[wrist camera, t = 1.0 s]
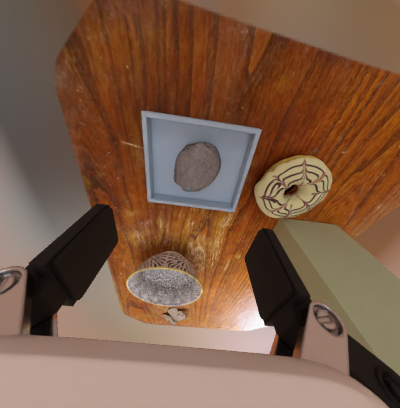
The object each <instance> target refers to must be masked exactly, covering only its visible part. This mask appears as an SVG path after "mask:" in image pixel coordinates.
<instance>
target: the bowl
mask: <svg viewBox="0 0 400 408" xmlns="http://www.w3.org/2000/svg"><path fill="white" fill-rule="evenodd" d="M126 285H127V288H128V290H129V291H130V292H131V293H132V294H133V295H134V296H136V297H137V298H139V299H141V300H143V301H145V302H148V303H151V304H155V305H161V306H182V305H187V304H190V303H192V302H195V301H196V300H198V299H199V298H200V296H201V295H202V291H203V289H202V285H201V283H200V281H199V278H198V275H197V272H196V270H195V268H194V266H193V265H192V264H191V262H190V261H189V260H188V259H186V258H185V257H183V255H181V254H180V253H178V252H174V251H165V252H162V253H160V254H156V255H154V256H152V257H150V258H148V259H147V260H146V261H144V262H143V263H142V264H141V265H140V266H139V268H138V269H137V270H136V271H135V272H134V273H133V274H131V275H130V276H129V277H128V279H127V282H126Z"/></svg>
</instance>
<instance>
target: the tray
mask: <svg viewBox="0 0 400 408" xmlns="http://www.w3.org/2000/svg"><path fill="white" fill-rule="evenodd" d="M141 115H142V129H143V142H144V155H145V169H146V182H147V195H148V202H156V203H164V204H172V205H180V206H188V207H196V208H204V209H212V210H220V211H228V212H235V210H236V207H237V203H238V200H239V197H240V194H241V191H242V188H243V185H244V182H245V179H246V176H247V173H248V170H249V167H250V164H251V161H252V158H253V155H254V152H255V149H256V146H257V143H258V140H259V137H260V134H261V131H262V130H261V129H258V128H254V127H248V126H242V125H235V124H229V123H222V122H216V121H210V120H203V119H197V118H191V117H184V116H178V115H171V114H165V113H159V112H152V111H141ZM197 142H206V143H210V144H212V145H214V146H215V147H216V148H217V150H218V151H219V154H220V158H221V167H220V171H219V173H218V175H217V177H216V178H215V180H214V181H213V182H212V183H211V184H210V185H208V186H207V187H205V188H203V189H202V190H200V191H196V192H187V191H184V190H183V189H182V188H181V186H179V185H178V184H176V183H175V182H174V169H175V162H176V158H177V156H178V154H179V153H180V152H181V151H182V150H183V148H184V147H185V146H186V145H188V144H193V143H197Z"/></svg>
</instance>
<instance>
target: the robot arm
mask: <svg viewBox="0 0 400 408" xmlns="http://www.w3.org/2000/svg"><path fill="white" fill-rule="evenodd" d="M117 243H118V235H117V230H116V225H115V220H114V215H113V210H112V208H110V206H109V205H104V204H96V205H95V206H94V207H92V208H91V209H90V210H89V211H88V212H87V213H86V214H84V215H83V216H82V217H81V218H80V219H79V220H78V221H76V222H75V223H74V224H73V225H72V226H71V227H70V228H68V229H67V230H66V231H65V232H64V233H63V234H62V235H60V237H58V238H57V239H56V240H55V241H53V242H52V243H51V244H50V245H49V246H48V247H47V248H45V249H44V250H43V251H42V252H41V253H40V254H39V255H37V256H36V257H35V258H34V259H33V260H32V261H31V262H29V265H28V266H27V267H26V268H24V267H20V266H11V267H7V268H3V269H0V408H400V376H399V375H398V374H397V373H396V372H395V371H394V370H393V369H391V368H390V367H389V366H387V365H386V364H385V363H384V362H382V361H381V360H380V359H379V358H377V357H376V356H375V355H374V354H372V353H371V352H370V351H369V350H367V349H366V348H365V347H364V346H362V345H361V344H360V343H359V342H357V341H356V340H355V339H354V338H352V337H351V336H350V335H349V334H348V333H347V329H346V326H345V324H344V322H343V321H342V319H341V318H340V316H339V315H338V314H337V313H336V312H335V311H334V310H333V309H332V308H331V307H329V306H328V305H326V304H325V303H323V302H320V301H312V300H311V299H310V297H311V296H310V294H309V292H308V290H307V289H306V287H305V285H304V283H303V282H302V280H301V278H300V276H299V275H298V273H297V271H296V269H295V268H294V266H293V264H292V262H291V261H290V259H289V257H288V255H287V254H286V252H285V250H284V248H283V247H282V245H281V243H280V241H279V240H278V238H277V236H276V234H275V233H274V231H273V230H271V229H264V228H263V229H262V230H259V231H258V233H257V235H256V237H255V239H254V241H253V243H252V244H251V246H250V248H249V250H248V252H247V254H246V256H245V262H246V266H247V270H248V273H249V277H250V281H251V285H252V288H253V292H254V296H255V299H256V303H257V307H258V311H259V314H260V317H261V318H262V319H263V320H264V324H265V326H274V327H275V330H276V335H275V339H274V342H273V345H272V348H271V351H270V355H268V354H259V353H248V352H237V351H226V350H215V349H204V348H192V347H180V346H169V345H156V344H145V343H132V342H120V341H108V340H96V339H83V338H71V337H58V328H57V312H58V310H59V309H60V307H61V306H62V305H65V306H73V305H74V304H75V303H76V301H77V300H80V299H81V298H82V297H83V295H84V294H85V292H86V291H87V289H88V288H89V286H90V284H91V283H92V281H93V280H94V278H95V277H96V275H97V274H98V272H99V271H100V269H101V268H102V266H103V265H104V263H105V261H106V260H107V258H108V257H109V255H110V254H111V252H112V251H113V249H114V248H115V246H116V245H117Z"/></svg>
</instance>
